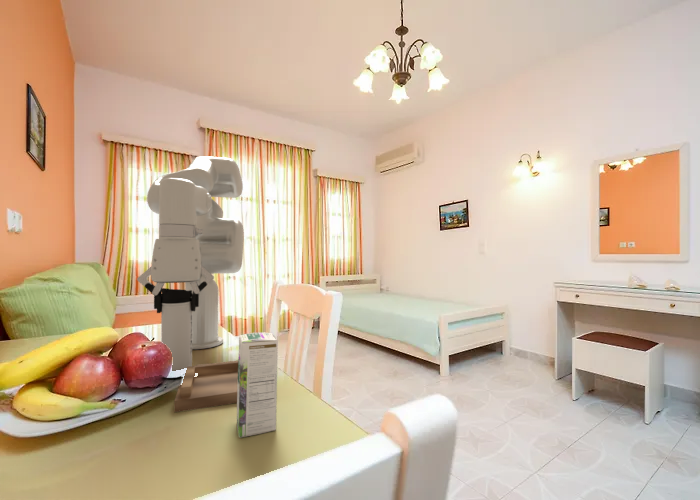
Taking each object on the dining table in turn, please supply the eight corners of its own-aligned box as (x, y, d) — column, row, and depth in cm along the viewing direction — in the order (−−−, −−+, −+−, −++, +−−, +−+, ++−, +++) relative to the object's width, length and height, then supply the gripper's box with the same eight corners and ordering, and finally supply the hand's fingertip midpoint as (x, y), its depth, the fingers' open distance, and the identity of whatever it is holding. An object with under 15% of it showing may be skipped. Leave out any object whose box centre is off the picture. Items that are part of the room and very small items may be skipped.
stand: (182, 383, 70) (183, 365, 70) (250, 375, 75) (250, 358, 75) (174, 412, 57) (174, 390, 57) (256, 399, 62) (256, 379, 62)
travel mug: (153, 376, 73) (153, 288, 73) (180, 367, 79) (181, 285, 79) (171, 381, 70) (171, 289, 70) (198, 371, 76) (198, 286, 76)
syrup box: (235, 421, 54) (236, 334, 54) (271, 414, 56) (272, 331, 57) (238, 439, 49) (239, 342, 49) (278, 430, 51) (278, 338, 52)
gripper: (218, 235, 82) (217, 306, 82) (137, 233, 75) (136, 310, 75) (218, 233, 75) (217, 311, 75) (129, 231, 68) (128, 316, 68)
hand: (177, 310), depth 75 cm, fingers closed on travel mug, 6 cm apart
